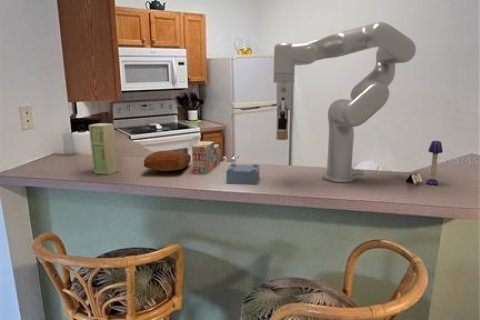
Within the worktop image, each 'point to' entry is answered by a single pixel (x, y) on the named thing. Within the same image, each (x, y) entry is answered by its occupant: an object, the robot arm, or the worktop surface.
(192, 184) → the worktop surface
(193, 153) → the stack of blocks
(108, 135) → the toy refrigerator
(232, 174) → the base brick
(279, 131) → the sprinkles bottle
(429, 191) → the worktop surface
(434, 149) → the toy lamp
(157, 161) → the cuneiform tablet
